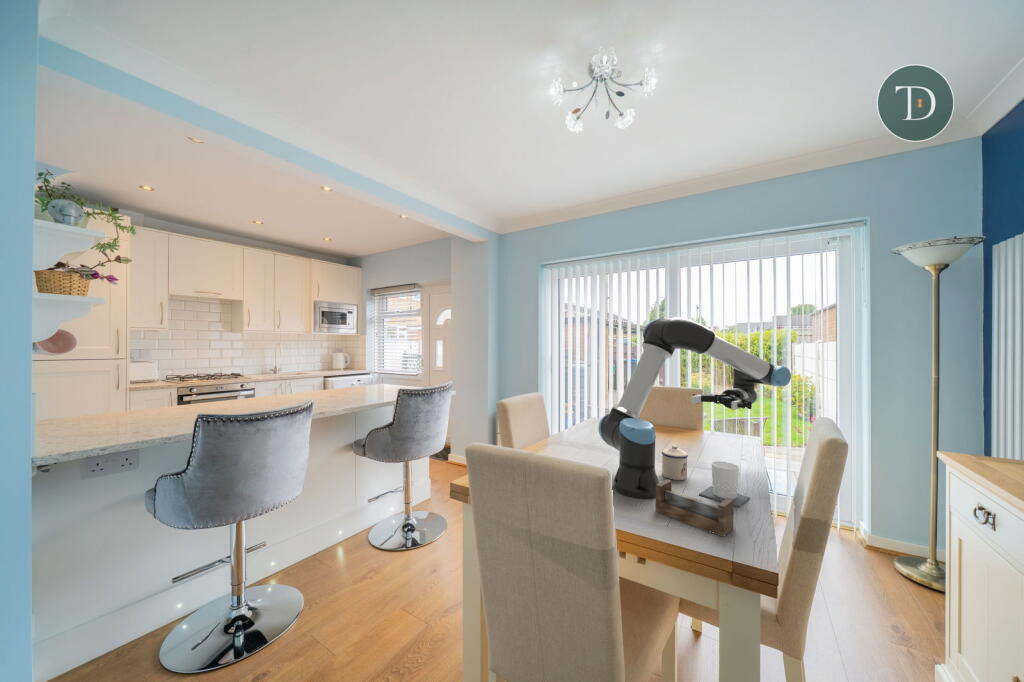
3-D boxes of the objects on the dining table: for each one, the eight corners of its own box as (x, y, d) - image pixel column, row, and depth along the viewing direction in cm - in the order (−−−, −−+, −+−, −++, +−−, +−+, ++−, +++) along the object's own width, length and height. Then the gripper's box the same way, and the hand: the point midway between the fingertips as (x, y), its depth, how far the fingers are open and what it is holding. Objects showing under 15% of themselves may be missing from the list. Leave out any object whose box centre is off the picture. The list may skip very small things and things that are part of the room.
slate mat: (699, 495, 125) (699, 493, 125) (711, 487, 132) (711, 485, 132) (739, 507, 116) (739, 505, 116) (749, 498, 123) (749, 497, 123)
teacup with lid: (686, 482, 136) (687, 450, 136) (660, 477, 140) (660, 447, 140) (688, 472, 147) (689, 442, 147) (663, 468, 151) (664, 439, 151)
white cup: (727, 502, 119) (728, 470, 119) (705, 492, 126) (706, 462, 126) (744, 498, 122) (744, 467, 122) (721, 489, 129) (722, 460, 129)
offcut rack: (655, 511, 113) (655, 484, 113) (666, 504, 118) (667, 479, 118) (723, 536, 99) (724, 506, 99) (733, 528, 103) (733, 499, 103)
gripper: (771, 413, 137) (751, 419, 124) (701, 403, 156) (676, 407, 143) (771, 392, 137) (751, 397, 124) (701, 385, 156) (677, 388, 143)
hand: (711, 402), depth 133 cm, fingers open, 13 cm apart
